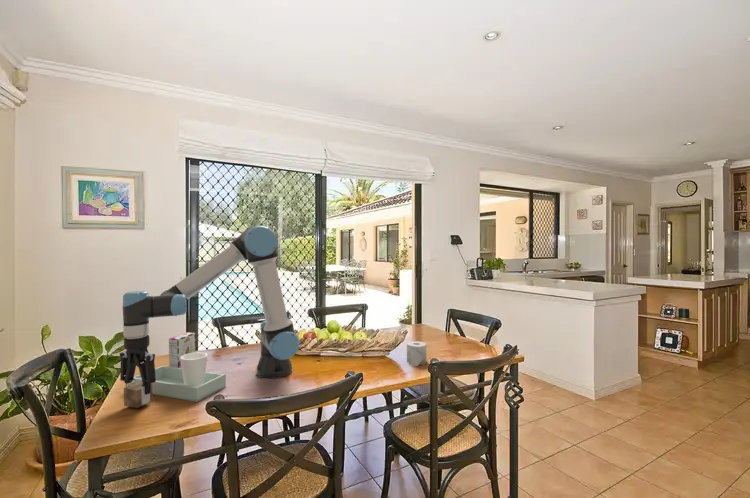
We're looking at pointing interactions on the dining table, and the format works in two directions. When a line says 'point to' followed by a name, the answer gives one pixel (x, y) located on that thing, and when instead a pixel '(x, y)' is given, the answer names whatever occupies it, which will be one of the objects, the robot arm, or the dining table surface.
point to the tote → (173, 384)
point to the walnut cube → (134, 395)
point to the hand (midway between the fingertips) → (138, 401)
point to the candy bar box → (180, 348)
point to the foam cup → (194, 368)
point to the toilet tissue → (416, 352)
